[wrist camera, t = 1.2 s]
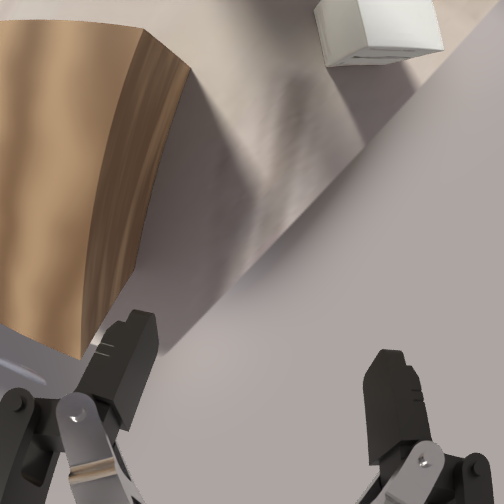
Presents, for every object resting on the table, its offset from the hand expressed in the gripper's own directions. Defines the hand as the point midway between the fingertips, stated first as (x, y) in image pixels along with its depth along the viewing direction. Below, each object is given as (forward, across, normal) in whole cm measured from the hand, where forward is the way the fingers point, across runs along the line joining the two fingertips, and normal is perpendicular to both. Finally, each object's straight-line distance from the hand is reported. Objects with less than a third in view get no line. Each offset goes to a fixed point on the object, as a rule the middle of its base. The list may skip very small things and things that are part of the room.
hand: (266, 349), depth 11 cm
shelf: (+24, +21, +3) cm, 32 cm away
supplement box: (+31, -5, -13) cm, 34 cm away
